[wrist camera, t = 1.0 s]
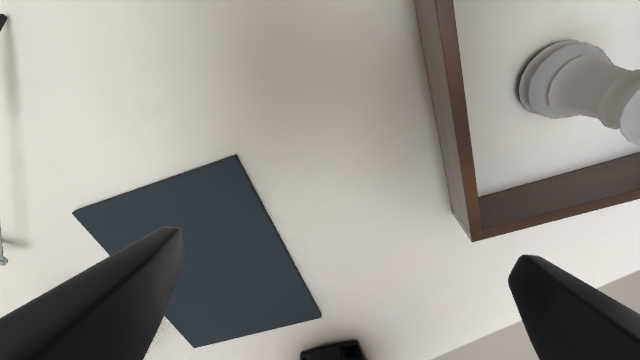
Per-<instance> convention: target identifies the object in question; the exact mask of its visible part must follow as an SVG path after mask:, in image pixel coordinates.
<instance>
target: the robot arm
mask: <svg viewBox="0 0 640 360" xmlns="http://www.w3.org/2000/svg"><path fill="white" fill-rule="evenodd" d="M184 257H185V251H184V243H183V236H182V231H181V229H180V228H178V227H168V226H164V227H161V228H159V229H157V230H156V231H154V232H152V233H150V234H149V235H147V236H145V237H143V238H141V239H140V240H138V241H136V242H134V243H133V244H131V245H129V246H127V247H126V248H124V249H122V250H120V251H118V252H117V253H115V254H113V255H111V256H110V257H108V258H106V259H104V260H103V261H101V262H99V263H97V264H95V265H94V266H92V267H90V268H88V269H87V270H85V271H83V272H81V273H80V274H78V275H76V276H74V277H73V278H71V279H69V280H67V281H65V282H64V283H62V284H60V285H58V286H57V287H55V288H53V289H51V290H50V291H48V292H46V293H44V294H42V295H41V296H39V297H37V298H35V299H34V300H32V301H30V302H28V303H27V304H25V305H23V306H21V307H19V308H18V309H16V310H14V311H12V312H11V313H9V314H7V315H5V316H3V317H2V318H0V360H143V359H144V357H145V355H146V353H147V351H148V349H149V346H150V344H151V342H152V340H153V338H154V336H155V334H156V332H157V330H158V328H159V326H160V324H161V321H162V319H163V317H164V314H165V312H166V309H167V306H168V304H169V301H170V298H171V295H172V292H173V290H174V287H175V284H176V281H177V278H178V275H179V273H180V270H181V267H182V264H183V261H184ZM508 284H509V287H510V290H511V292H512V295H513V298H514V300H515V303H516V305H517V308H518V310H519V313H520V316H521V318H522V321H523V323H524V326H525V328H526V331H527V333H528V336H529V338H530V341H531V343H532V345H533V347H534V349H535V351H536V353H537V355H538V357H539V359H540V360H640V314H638V313H637V312H635V311H633V310H631V309H630V308H628V307H626V306H625V305H623V304H621V303H619V302H618V301H616V300H614V299H612V298H611V297H609V296H607V295H606V294H604V293H602V292H600V291H598V290H597V289H595V288H593V287H592V286H590V285H588V284H587V283H585V282H583V281H581V280H580V279H578V278H576V277H574V276H573V275H571V274H569V273H568V272H566V271H564V270H562V269H561V268H559V267H557V266H555V265H554V264H552V263H550V262H549V261H547V260H545V259H543V258H542V257H539V256H535V255H522V256H521V257H519V259H518V260H517V262H516V264H515V266H514V268H513V269H512V271H511V273H510V275H509V278H508ZM300 360H367V359H366V356H365V354H364V352H363V350H362V348H361V346H360V344H359V342H358V341H350V342H346V343H341V344H337V345H333V346H328V347H324V348H319V349H315V350H310V351H306V352H302V353H301V354H300Z"/></svg>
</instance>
